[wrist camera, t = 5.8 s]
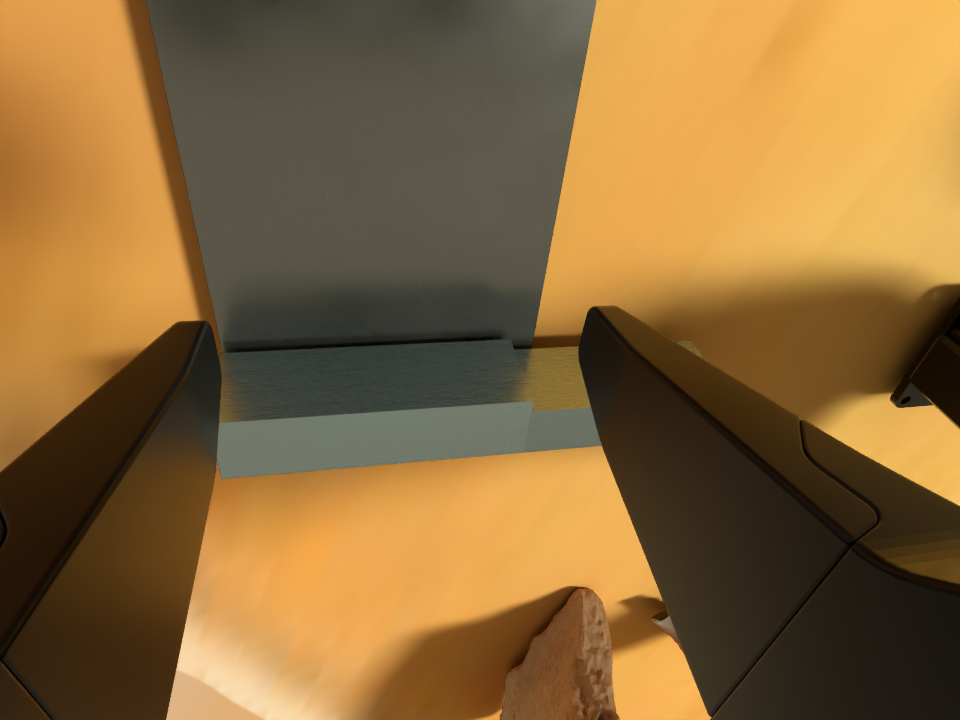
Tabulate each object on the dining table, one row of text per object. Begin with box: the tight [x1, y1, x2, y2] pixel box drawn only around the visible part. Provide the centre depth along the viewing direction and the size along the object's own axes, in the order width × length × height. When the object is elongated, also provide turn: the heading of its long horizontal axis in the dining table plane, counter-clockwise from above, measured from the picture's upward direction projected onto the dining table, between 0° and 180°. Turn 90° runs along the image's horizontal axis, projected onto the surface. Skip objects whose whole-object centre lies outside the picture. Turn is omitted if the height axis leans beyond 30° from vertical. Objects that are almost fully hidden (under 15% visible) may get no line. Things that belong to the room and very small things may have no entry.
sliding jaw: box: [217, 339, 704, 479], centre depth 22 cm, size 18×2×3 cm, turn 85°
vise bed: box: [146, 0, 596, 353], centre depth 18 cm, size 11×16×1 cm
